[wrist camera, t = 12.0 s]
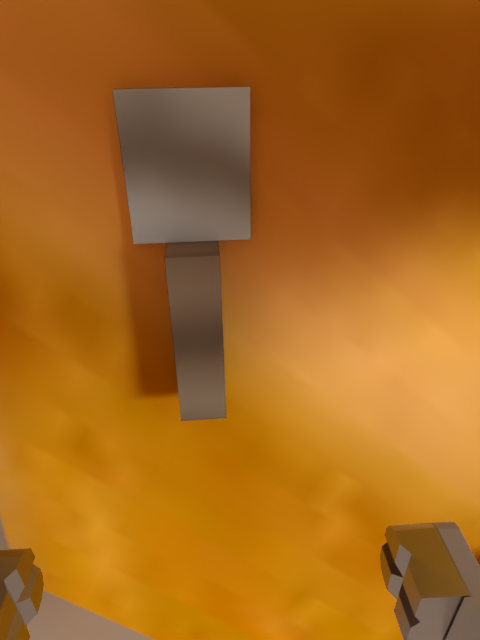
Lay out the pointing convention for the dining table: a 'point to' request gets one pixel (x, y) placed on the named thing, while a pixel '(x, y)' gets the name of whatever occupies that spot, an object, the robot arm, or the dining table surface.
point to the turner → (189, 214)
